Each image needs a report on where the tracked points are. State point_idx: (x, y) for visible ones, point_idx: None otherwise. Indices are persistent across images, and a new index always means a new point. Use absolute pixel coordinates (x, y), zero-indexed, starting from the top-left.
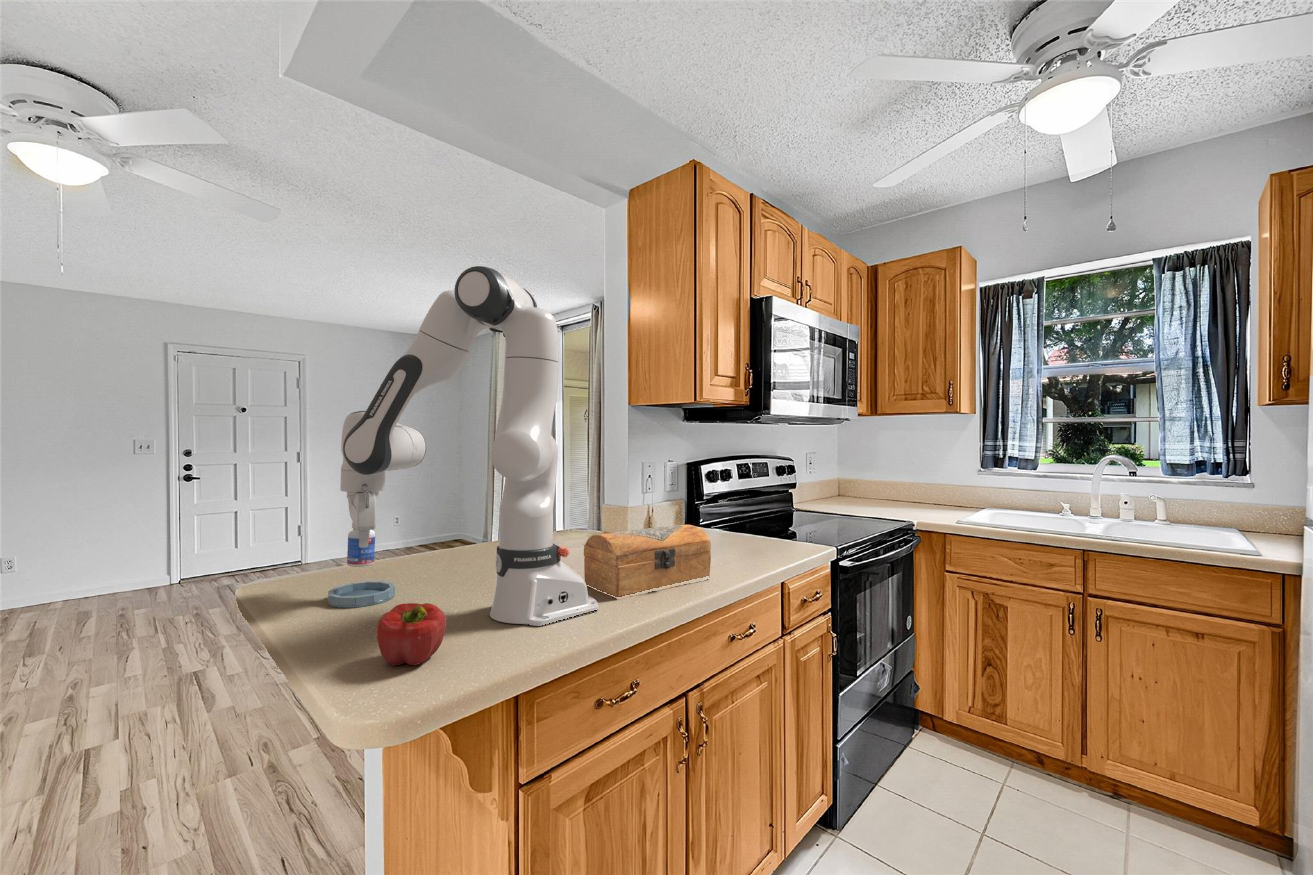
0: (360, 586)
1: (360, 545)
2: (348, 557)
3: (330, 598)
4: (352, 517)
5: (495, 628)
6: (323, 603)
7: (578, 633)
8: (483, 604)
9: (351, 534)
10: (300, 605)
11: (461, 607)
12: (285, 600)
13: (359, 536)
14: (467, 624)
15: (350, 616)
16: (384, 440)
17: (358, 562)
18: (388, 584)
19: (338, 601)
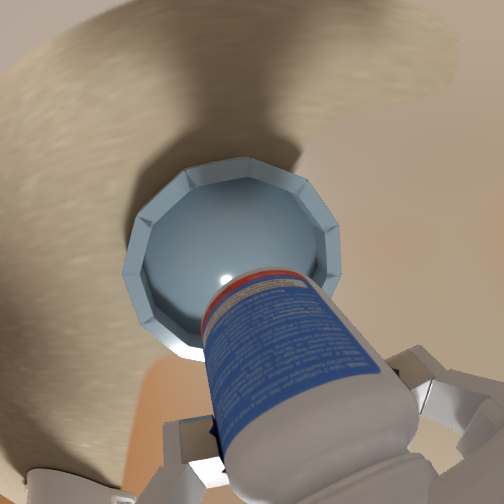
0: (321, 251)
1: (165, 434)
2: (242, 300)
3: (175, 177)
4: (490, 490)
5: (11, 460)
6: (219, 144)
7: (16, 496)
8: (119, 472)
9: (271, 444)
10: (223, 75)
11: (102, 452)
12: (305, 30)
13: (145, 492)
14: (18, 443)
15: (49, 260)
16: None
17: (202, 339)
18: None
19: (139, 210)
